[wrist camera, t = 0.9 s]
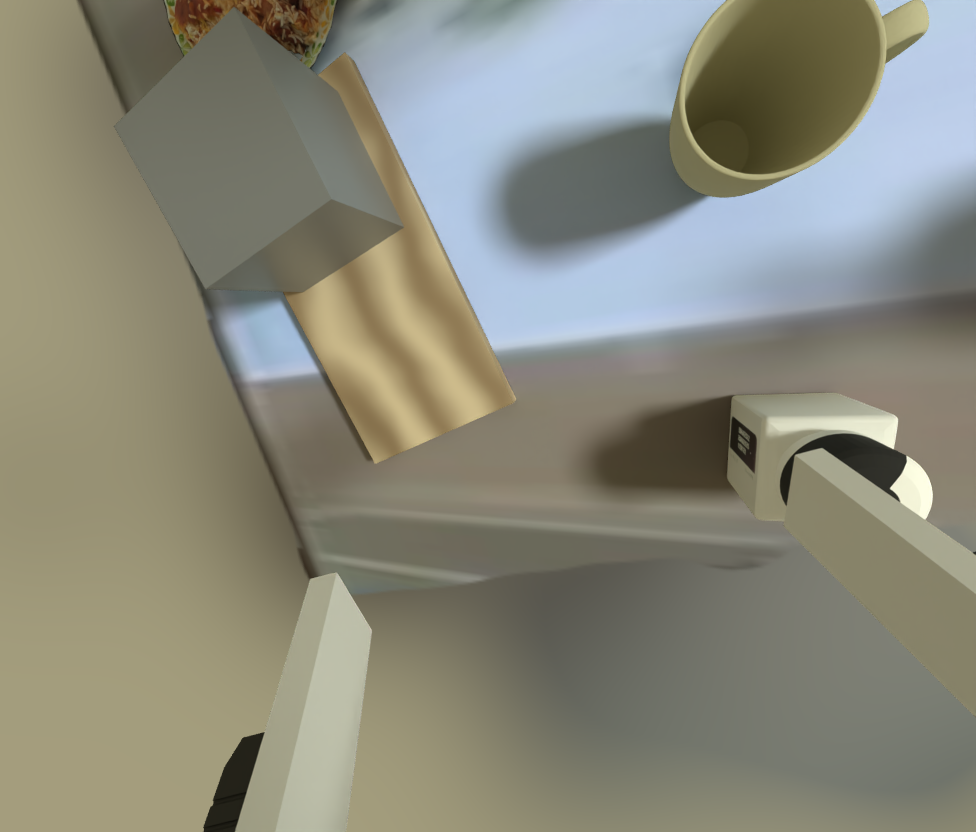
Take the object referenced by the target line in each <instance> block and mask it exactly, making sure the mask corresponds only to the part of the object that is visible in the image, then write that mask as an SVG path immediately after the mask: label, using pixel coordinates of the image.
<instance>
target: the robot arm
mask: <svg viewBox="0 0 976 832" xmlns="http://www.w3.org/2000/svg"><path fill="white" fill-rule="evenodd" d="M784 527H785V528H786V529H787V530H788V531H789V532H790V533H791V534H792V535H793V536H794V537H795V538H796V539H797V540H798V541H799V542H800V543H801V544H802V545H803V546H804V547H805V548H806V549H807V550H808V551H809V552H810V553H811V554H812V555H813V556H814V557H815V558H816V559H817V560H818V561H819V562H820V563H821V564H822V565H823V566H824V567H825V568H826V569H827V570H828V571H829V572H830V573H831V574H832V575H833V576H834V577H835V578H836V579H837V580H838V581H839V582H840V583H841V584H842V585H843V586H844V587H845V588H846V589H847V590H848V591H849V592H850V593H851V594H852V595H854V597H855V598H856V599H857V600H858V601H859V602H860V603H861V604H862V605H863V606H864V607H865V608H866V609H867V610H868V611H869V612H870V613H872V615H873V616H874V617H875V618H876V619H877V620H878V621H880V622H881V624H882V625H884V627H885V628H887V630H888V631H889V632H891V634H892V635H894V636H895V638H896V639H898V641H900V642H901V644H902V645H903V646H905V647H906V649H907V650H909V651H910V652H911V653H912V654H913V655H914V656H915V657H916V658H917V659H918V660H919V661H920V662H921V663H922V664H923V665H924V666H925V667H926V668H927V669H928V670H929V671H930V672H931V673H932V674H933V675H934V676H935V677H936V678H937V679H938V680H939V681H940V682H941V683H942V684H943V685H944V686H945V687H946V688H947V689H948V690H949V691H950V692H951V693H952V694H953V695H954V696H955V697H956V698H957V699H958V700H959V701H960V702H961V703H962V704H963V705H964V706H965V707H966V708H967V709H968V710H969V711H970V712H971V713H972V714H973V715H974V716H975V717H976V552H973V553H972V552H970V551H969V550H968V549H966V548H965V547H963V546H962V545H960V544H959V543H958V542H956V541H955V540H953V539H952V538H950V537H949V536H948V535H946V534H944V533H943V532H942V531H940V530H939V529H938V528H936V527H935V526H933V525H932V524H930V523H929V522H927V521H926V520H925V519H923V518H922V517H920V516H919V515H917V514H916V513H915V512H913V511H912V510H910V509H909V508H907V507H906V506H905V505H903V504H902V503H900V502H899V501H897V500H896V499H895V498H893V497H892V496H890V495H889V494H887V493H886V492H884V491H883V490H882V489H880V488H879V487H877V486H876V485H874V484H873V483H872V482H870V481H869V480H867V479H866V478H864V477H863V476H862V475H860V474H859V473H857V472H856V471H854V470H853V469H851V468H850V467H849V466H847V465H846V464H844V463H843V462H841V461H840V460H839V459H837V458H836V457H834V456H833V455H831V454H830V453H829V452H827V451H826V450H824V449H823V448H820V449H816V450H812V451H808V452H804V453H800V454H796V455H795V457H794V463H793V470H792V476H791V482H790V488H789V495H788V501H787V507H786V514H785V520H784ZM371 634H372V630H371V628H370V627H369V625H368V623H367V622H366V620H365V619H364V617H363V615H362V613H361V612H360V610H359V608H358V607H357V605H356V604H355V602H354V600H353V598H352V597H351V595H350V593H349V592H348V590H347V588H346V587H345V585H344V583H343V582H342V580H341V578H340V577H339V575H338V574H337V572H336V573H332V574H328V575H324V576H320V577H317V578H313V579H310V582H309V586H308V589H307V592H306V596H305V599H304V603H303V606H302V609H301V612H300V616H299V619H298V623H297V626H296V629H295V632H294V636H293V639H292V643H291V646H290V649H289V653H288V656H287V659H286V663H285V666H284V669H283V673H282V676H281V680H280V683H279V686H278V689H277V693H276V696H275V699H274V703H273V706H272V709H271V713H270V716H269V720H268V723H267V726H266V730H265V732H264V733H260V734H256V735H252V736H248V737H244V738H242V740H241V742H240V743H239V745H238V747H237V748H236V750H235V751H234V753H233V754H232V756H231V758H230V759H229V761H228V762H227V764H226V766H225V767H224V770H223V773H222V776H221V778H220V782H219V784H218V787H217V790H216V793H215V796H214V799H213V801H214V803H213V806H212V807H210V810H209V813H208V816H207V818H206V821H205V824H204V827H203V828H204V832H346V827H347V819H348V812H349V804H350V796H351V788H352V781H353V773H354V766H355V758H356V749H357V742H358V734H359V726H360V719H361V712H362V704H363V695H364V688H365V681H366V673H367V665H368V657H369V650H370V642H371Z"/></svg>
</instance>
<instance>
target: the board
mask: <svg viewBox="0 0 976 832" xmlns="http://www.w3.org/2000/svg"><path fill="white" fill-rule="evenodd" d="M318 76H320V77H321V78H322V79H323V80H324V81H326V82H327V83H328V84H329V85H331V86H332V87H333V88H334V89H335V90H337V91H338V93H339V95H340V97H341V99H342V101H343V103H344V105H345V107H346V109H347V111H348V113H349V115H350V117H351V119H352V121H353V123H354V125H355V127H356V129H357V131H358V133H359V136H360V138H361V140H362V142H363V144H364V146H365V148H366V150H367V152H368V154H369V156H370V158H371V160H372V162H373V164H374V166H375V168H376V170H377V172H378V174H379V176H380V179H381V181H382V183H383V185H384V187H385V189H386V191H387V193H388V195H389V197H390V199H391V201H392V203H393V205H394V207H395V209H396V211H397V213H398V215H399V217H400V219H401V221H402V224H403V226H404V228H402V229H401V230H399V231H398V232H396V233H395V234H393V235H392V236H390V237H388V238H387V239H385V240H384V241H382V242H381V243H379V244H378V245H376V246H374V247H373V248H371V249H370V250H368V251H367V252H365V253H364V254H362V255H360V256H359V257H357V258H356V259H354V260H353V261H351V262H350V263H348V264H346V265H345V266H343V267H342V268H340V269H339V270H337V271H336V272H334V273H332V274H331V275H329V276H328V277H326V278H325V279H323V280H322V281H320V282H318V283H317V284H315V285H314V286H312V287H311V288H309V289H308V290H306V291H304V292H283V293H284V295H285V297H286V299H287V301H288V303H289V304H290V306H291V308H292V310H293V312H294V314H295V316H296V317H297V319H298V321H299V323H300V325H301V327H302V329H303V330H304V332H305V334H306V336H307V338H308V340H309V342H310V343H311V345H312V347H313V349H314V351H315V353H316V355H317V356H318V358H319V360H320V362H321V364H322V366H323V368H324V370H325V371H326V373H327V375H328V377H329V379H330V381H331V383H332V384H333V386H334V388H335V390H336V392H337V394H338V396H339V397H340V399H341V401H342V403H343V405H344V407H345V409H346V410H347V412H348V414H349V416H350V418H351V420H352V422H353V423H354V425H355V427H356V429H357V431H358V433H359V435H360V436H361V438H362V440H363V442H364V444H365V446H366V448H367V450H368V451H369V453H370V455H371V457H372V459H373V461H374V463H375V464H376V463H378V462H381V461H383V460H385V459H387V458H390V457H392V456H394V455H396V454H399V453H401V452H403V451H406V450H408V449H410V448H412V447H415V446H417V445H419V444H421V443H424V442H426V441H428V440H431V439H433V438H435V437H437V436H440V435H442V434H444V433H446V432H449V431H451V430H453V429H455V428H458V427H460V426H462V425H465V424H467V423H469V422H471V421H474V420H476V419H478V418H480V417H483V416H485V415H487V414H489V413H492V412H494V411H496V410H499V409H501V408H503V407H505V406H508V405H510V404H512V403H514V402H515V400H516V398H515V396H514V394H513V391H512V389H511V387H510V385H509V383H508V381H507V379H506V377H505V375H504V373H503V371H502V369H501V366H500V364H499V362H498V360H497V358H496V356H495V354H494V352H493V350H492V348H491V346H490V344H489V341H488V339H487V337H486V335H485V333H484V331H483V329H482V327H481V325H480V323H479V321H478V318H477V316H476V314H475V312H474V310H473V308H472V306H471V304H470V302H469V300H468V298H467V296H466V293H465V291H464V289H463V287H462V285H461V283H460V281H459V279H458V277H457V275H456V273H455V271H454V268H453V266H452V264H451V262H450V260H449V258H448V256H447V254H446V252H445V250H444V248H443V245H442V243H441V241H440V239H439V237H438V235H437V233H436V231H435V229H434V227H433V225H432V223H431V220H430V218H429V216H428V214H427V212H426V210H425V208H424V206H423V204H422V202H421V200H420V198H419V195H418V193H417V191H416V189H415V187H414V185H413V183H412V181H411V179H410V177H409V175H408V172H407V170H406V168H405V166H404V164H403V162H402V160H401V158H400V156H399V154H398V152H397V150H396V147H395V145H394V143H393V141H392V139H391V137H390V135H389V133H388V131H387V129H386V127H385V125H384V122H383V120H382V118H381V116H380V114H379V112H378V110H377V108H376V106H375V104H374V102H373V100H372V97H371V95H370V93H369V91H368V89H367V87H366V85H365V83H364V81H363V79H362V77H361V74H360V72H359V70H358V68H357V66H356V64H355V62H354V61H353V60H352V59H351V58H350V57H349V56H348V55H347V54H346V53H345V52H344V53H343V54H342V55H341V56H340V57H339V58H337V59H336V60H335V61H334V62H333V63H331V64H330V65H329V66H328V67H327V68H326V69H324V70H323V71H322V72H321V73H320V74H318Z"/></svg>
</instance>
